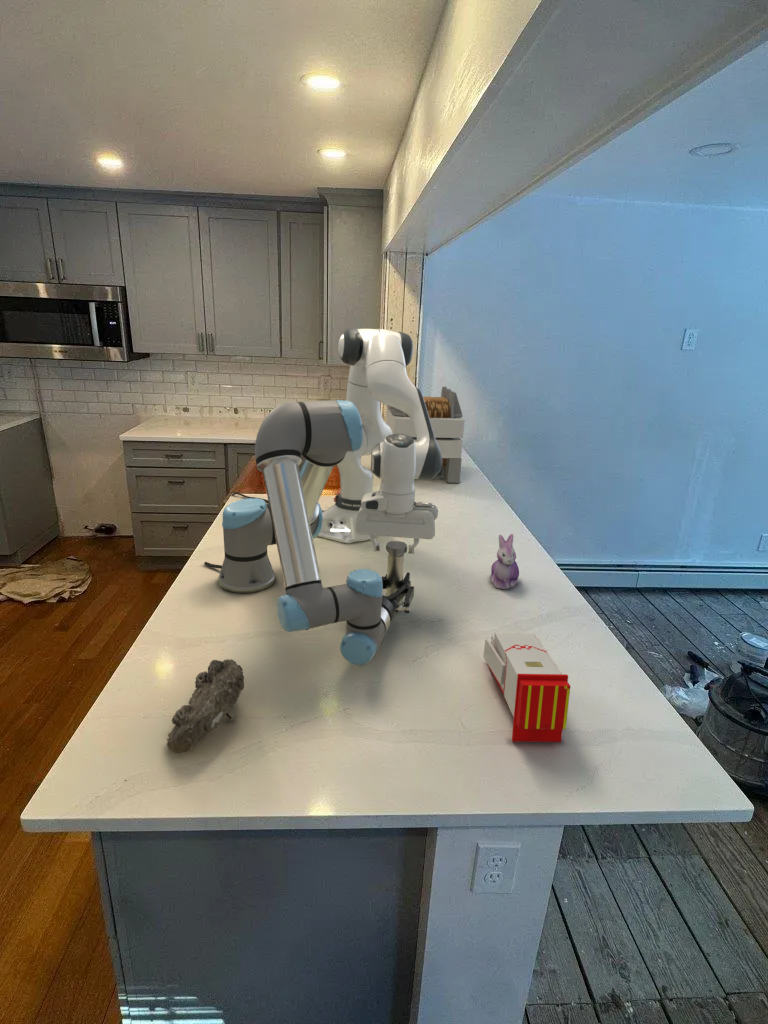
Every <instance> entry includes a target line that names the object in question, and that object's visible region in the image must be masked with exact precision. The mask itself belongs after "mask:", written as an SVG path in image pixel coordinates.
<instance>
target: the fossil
mask: <svg viewBox="0 0 768 1024" xmlns="http://www.w3.org/2000/svg"><path fill="white" fill-rule="evenodd" d="M243 670H244V669H243V667H242V665H240V664H237V662H236V661H235V660H234V659H232V658H231V659H227V658H226V659H224V660H223V661H222V660H217V659H212V660H211V661H210V663H209V665H208V666H207V671H201V672H199V673H198V674H197V675H196V676H195V680H194V684H195V685H194V687H195V689H194V690H193V693H192V694H191V697H190V698H189V700H188V704H184V705H182V706H181V707H180V709H177V710H176V711H175V713H174V715H173V716H172V718H171V723H172V724H173V727H172V730H171V731H170V732H168V734H167V738H166V741H167V742H166V745H167V749H168V750H169V751H173V752H174V753H176V754H178V753H182V752H188V751H189V752H192V751H193V750H195V748H196V747H197V746H199V744H200V743H201V742H203V741H204V740H205V739H206V738H207V737H208V736H209V735H210V734H211V733H212V732H214V730H215V729H217V727H218V726H219V724H220V722H221V721H222V720H223V719H224V718H225V716H226V717H227V719H229V720H233V717H232V715H230V714H229V710H230V709H231V708H234V706H235V704H236V703H237V702H238V699H239V697H240V695H241V693H242V691H243V690H245V689H244V688H245V675H244V671H243Z"/></svg>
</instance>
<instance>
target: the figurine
mask: <svg viewBox="0 0 768 1024" xmlns="http://www.w3.org/2000/svg"><path fill="white" fill-rule="evenodd" d="M513 543H514V534H513V533H510V534H509V535H508V537H507V539H506V540H505V538H504V536H503V535H502V534H499V535H498V550H497V552H496V558H497V560H496V559H495V561H494V562H493V563H492V564H491V569H490V571H491V573H490V582H491V584H492V585H493V586H494V587H495V588H497V589H501V590H502V589H503V590H508V589H510V588H514V587H515V586H517V584H518V581H519V576H520V569H519V565H518V563H517V561H516V559H517V553H516V550H515V548H514V544H513Z"/></svg>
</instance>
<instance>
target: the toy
mask: <svg viewBox="0 0 768 1024" xmlns="http://www.w3.org/2000/svg"><path fill="white" fill-rule="evenodd" d="M482 657H483V658H484V660H485V662H486V664H487V666H488V669H489V670H490V672H491V674H492V676H493V678H494V679H495V681H496V683H497V685H498V687H499V689H500V691H501V693H502V694H503V698H504V700H505V701H506V703H507V706H508V708H509V710H510V712H511V716H512V717H513V720H512V721H513V722H512V731H511V732H512V733H511V742H513V743H514V742H517V743H518V742H519V743H520V742H521V743H523V742H525V743H527V742H528V743H529V742H530V743H562V736H563V730H566V729H567V720H568V712H569V704H570V703H569V702H570V695H571V685H570V683H569V674H564V673H562V671H561V670H560V669H559V667H558V666H557V664H556V663H555V662H554V661H555V660H553V658H552V657H551V656H550V654H549V652H548V651H547V650H546V648H545V647H544V645H543V643H542V641H541V640H540V638H538V637H537V635H536V634H535V632H494V633H493V634H491V635H490V640H489V638H485V639H484V647H483V655H482Z"/></svg>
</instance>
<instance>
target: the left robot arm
mask: <svg viewBox="0 0 768 1024" xmlns="http://www.w3.org/2000/svg"><path fill="white" fill-rule="evenodd" d="M362 441H363V429H362V422H361V418H360V414H359V411H358V409H357V407H356V406H355V405H354V404H353V403H352V402H350V401H346V400H342V399H341V400H340V399H331V400H311V401H310V400H309V401H308V400H307V401H287V402H283V403H281V404H279V405H277V406H275V407H274V408H273V409H272V410H271V411H269V412H268V413H267V415H266V416H265V417H264V419H263V420H262V421H261V424H260V426H259V429H258V432H257V434H256V438H255V443H254V457H255V465H256V469H257V470H258V471H259V472H261V473H262V476H263V481H264V486H265V491H266V496H267V497H266V498H267V500H268V502H269V503H268V502H265V501H264V500H262V499H263V498H261V499H259V498H260V497H255V499H253V498H242V499H238V500H235V501H233V502H230V503H229V504H228V505H226V506H225V507H224V508H223V511H222V523H221V526H222V533H223V550H224V559H223V561H222V565H221V564H215V563H210V562H209V561H208V562H207V561H204V562H203V565H204V566H207V567H209V568H214V569H219V570H220V572H219V575H218V583H219V585H220V587H221V588H222V589H224V590H225V591H228V592H231V593H236V594H249V593H256V592H260V591H263V590H265V589H268V588H270V587H271V586H272V585H273V584H274V583H275V570H274V568H273V566H272V563H271V561H270V558H269V555H268V546H274V545H276V548H277V553H278V558H279V559H278V560H279V563H280V569H281V574H282V581H283V585H284V591H285V594H283V595H281V596H279V597H278V598H277V600H276V601H277V602H276V609H277V611H276V614H277V618H278V622H279V624H280V627H281V628H282V629H283V630H284V632H287V633H294V632H299V631H308V630H311V629H314V628H318V627H323V626H327V625H332V624H337V623H341V622H345V634H344V635H342V639H341V642H340V645H339V650H340V654H341V656H342V657H343V658H344V660H345V661H347V662H348V663H349V664H351V665H354V666H363V665H367V664H368V663H370V662H371V661H372V660H373V658H374V656H375V655H376V654H377V652H378V649H379V647H380V645H381V643H382V641H383V639H384V637H385V635H386V633H387V631H388V629H389V627H390V625H391V624H392V621H393V620H394V618H395V615H397V613H399V611H403V612H404V613H405V614H409V613H410V611H411V610H410V609H411V608H410V607H411V603H412V602H413V599H414V596H415V586H414V585H412V581H411V578H410V577H411V572H409V571H407V572H406V574H405V576H403V581H402V584H401V587H400V588H399V589H398V590H397V591H396V592H395V593H392V594H391V595H389V596H386V595H384V590H386V582H387V573H386V574H385V576H382V575H380V574H379V573H378V572H377V571H375V570H372V569H369V568H358V569H354V570H353V571H350V572H349V573H348V575H347V578H346V581H345V583H342V584H337V585H331V586H327V587H324V586H323V584H322V577H321V572H320V568H319V562H318V558H317V553H316V548H315V542H314V539H315V538H317V537H319V536H318V534H319V533H320V531H321V528H322V521H323V514H322V511H323V510H322V509H323V508H322V507H321V504H320V503H319V501H320V498H321V496H322V493H323V491H324V489H325V487H326V485H327V482H328V479H329V478H330V475H331V473H332V471H333V468H334V467H337V465H338V464H339V463H340V462H341V461H342V460H343V459H344V457H345V455H346V453H347V452H348V451H352V452H354V451H357V450H359V449H360V447H361V445H362ZM401 599H402V602H401V605H399V604H398V602H399V601H400V600H401ZM403 599H404V600H403Z"/></svg>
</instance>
